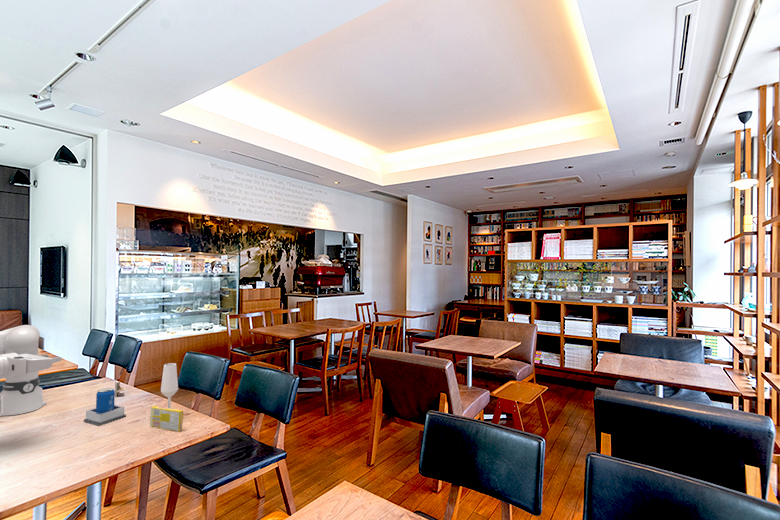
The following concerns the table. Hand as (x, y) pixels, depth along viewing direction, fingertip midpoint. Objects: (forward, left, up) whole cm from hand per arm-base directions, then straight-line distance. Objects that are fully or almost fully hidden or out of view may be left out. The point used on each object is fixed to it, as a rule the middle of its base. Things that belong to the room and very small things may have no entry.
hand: (53, 357), depth 156 cm
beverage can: (+5, +17, -29) cm, 34 cm away
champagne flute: (+30, +29, -30) cm, 52 cm away
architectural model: (-24, +39, -31) cm, 55 cm away
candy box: (+38, +22, -30) cm, 53 cm away
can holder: (+5, +17, -30) cm, 35 cm away
